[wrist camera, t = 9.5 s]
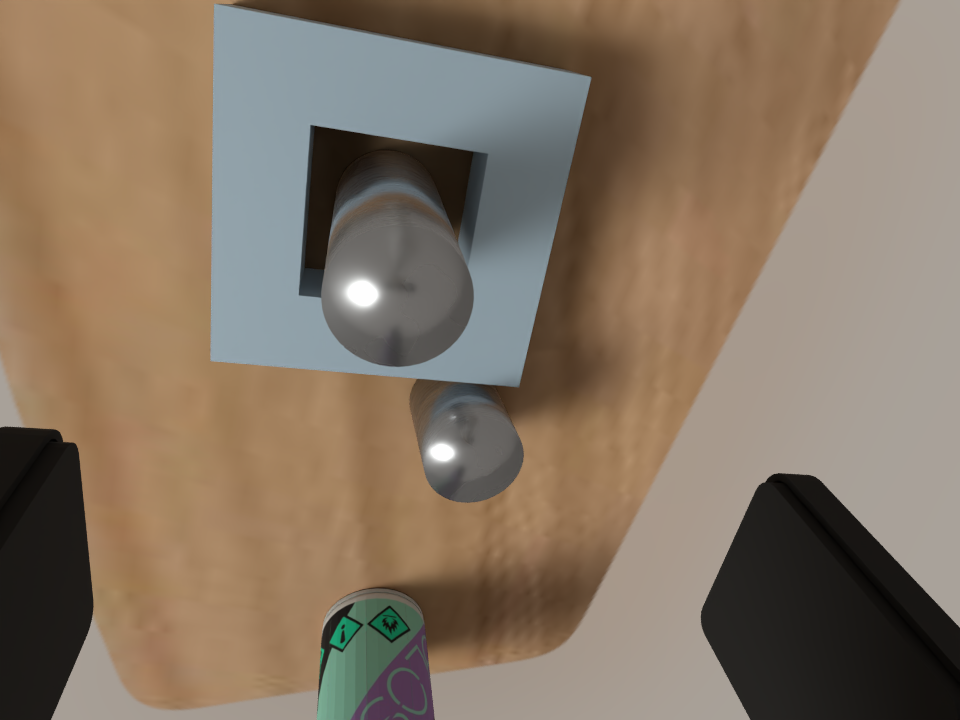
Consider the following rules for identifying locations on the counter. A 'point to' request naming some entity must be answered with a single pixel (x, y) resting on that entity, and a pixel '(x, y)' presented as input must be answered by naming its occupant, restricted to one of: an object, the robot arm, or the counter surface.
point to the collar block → (394, 114)
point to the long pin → (393, 264)
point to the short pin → (465, 439)
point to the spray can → (374, 659)
